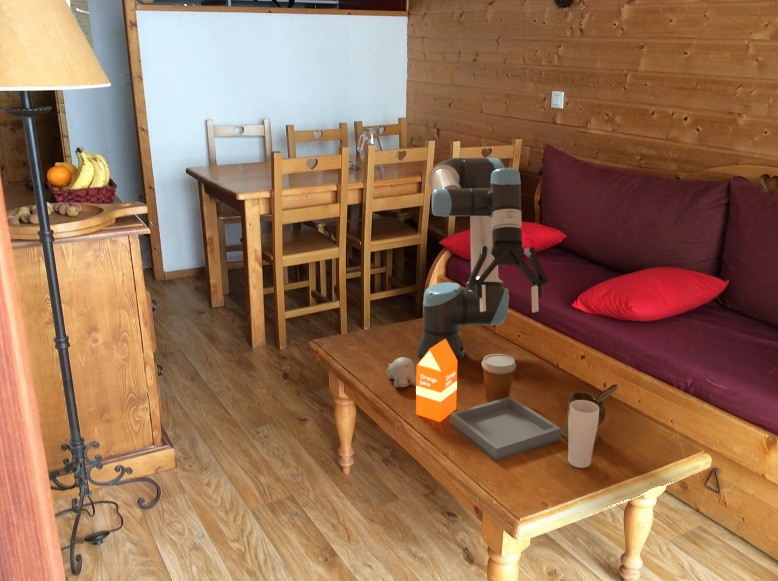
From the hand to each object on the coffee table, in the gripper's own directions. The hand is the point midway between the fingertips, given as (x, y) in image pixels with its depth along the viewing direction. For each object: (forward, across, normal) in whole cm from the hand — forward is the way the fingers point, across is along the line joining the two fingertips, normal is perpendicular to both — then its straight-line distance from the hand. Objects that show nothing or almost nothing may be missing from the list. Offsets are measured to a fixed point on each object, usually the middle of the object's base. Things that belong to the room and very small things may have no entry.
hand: (509, 311), depth 176 cm
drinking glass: (+37, +14, -6) cm, 40 cm away
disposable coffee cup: (+22, +4, +25) cm, 34 cm away
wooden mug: (+32, +20, +2) cm, 38 cm away
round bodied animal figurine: (+18, -22, +38) cm, 47 cm away
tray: (+30, 0, +8) cm, 31 cm away
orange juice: (+26, -15, +21) cm, 36 cm away
